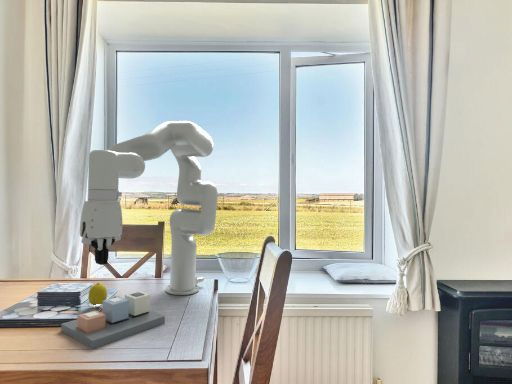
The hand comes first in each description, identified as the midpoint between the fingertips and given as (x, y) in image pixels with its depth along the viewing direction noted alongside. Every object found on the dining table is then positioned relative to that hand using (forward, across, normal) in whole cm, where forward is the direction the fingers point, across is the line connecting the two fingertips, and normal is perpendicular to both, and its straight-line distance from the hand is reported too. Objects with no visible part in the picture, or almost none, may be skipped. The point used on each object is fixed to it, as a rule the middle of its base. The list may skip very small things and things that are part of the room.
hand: (101, 263), depth 95 cm
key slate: (+16, -4, 0) cm, 17 cm away
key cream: (+16, -12, 0) cm, 20 cm away
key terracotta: (+18, +2, 0) cm, 19 cm away
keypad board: (+19, -4, 0) cm, 19 cm away
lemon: (+19, -9, -18) cm, 28 cm away
